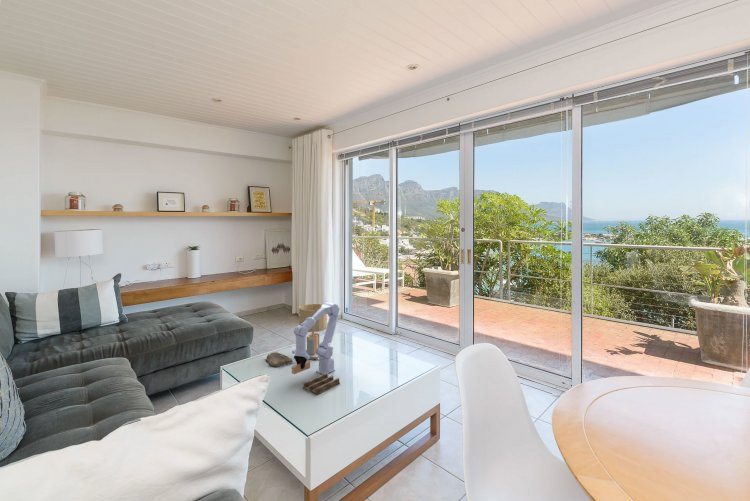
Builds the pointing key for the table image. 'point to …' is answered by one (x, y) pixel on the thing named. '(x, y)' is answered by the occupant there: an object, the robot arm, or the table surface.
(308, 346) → the desk lamp
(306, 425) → the table surface
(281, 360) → the brown rock
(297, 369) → the light brown long block
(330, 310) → the robot arm
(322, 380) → the walnut rack
